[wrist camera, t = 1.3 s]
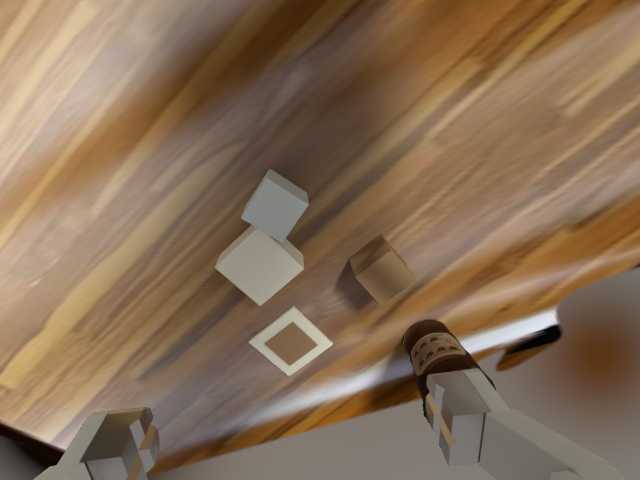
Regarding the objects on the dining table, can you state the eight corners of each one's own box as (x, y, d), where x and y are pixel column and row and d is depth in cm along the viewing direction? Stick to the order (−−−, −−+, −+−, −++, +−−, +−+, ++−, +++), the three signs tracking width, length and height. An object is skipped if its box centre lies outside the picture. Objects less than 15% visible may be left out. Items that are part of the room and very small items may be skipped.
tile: (293, 305, 47) (293, 308, 46) (332, 342, 49) (333, 346, 49) (248, 340, 48) (248, 343, 48) (288, 374, 51) (288, 378, 50)
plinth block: (262, 214, 42) (259, 226, 38) (303, 254, 44) (304, 268, 41) (221, 252, 43) (214, 267, 40) (262, 289, 46) (260, 306, 42)
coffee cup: (384, 328, 49) (413, 405, 37) (439, 299, 48) (488, 369, 36) (410, 370, 52) (446, 453, 40) (463, 344, 51) (515, 421, 39)
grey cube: (269, 168, 40) (266, 177, 35) (307, 192, 41) (308, 204, 37) (246, 204, 41) (240, 218, 37) (283, 226, 43) (282, 243, 38)
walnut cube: (380, 233, 44) (391, 250, 39) (403, 261, 46) (416, 280, 41) (348, 258, 45) (355, 277, 40) (372, 284, 46) (381, 305, 42)
